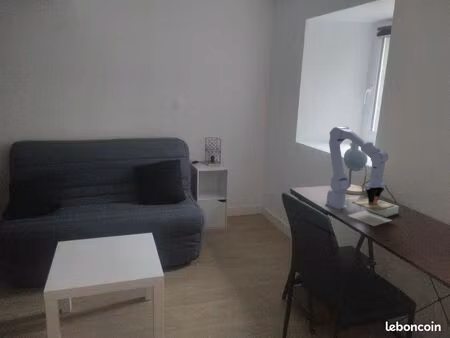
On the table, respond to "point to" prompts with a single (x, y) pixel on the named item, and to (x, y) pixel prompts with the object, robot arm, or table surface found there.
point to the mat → (369, 218)
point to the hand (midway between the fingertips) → (372, 201)
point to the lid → (373, 204)
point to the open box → (386, 210)
